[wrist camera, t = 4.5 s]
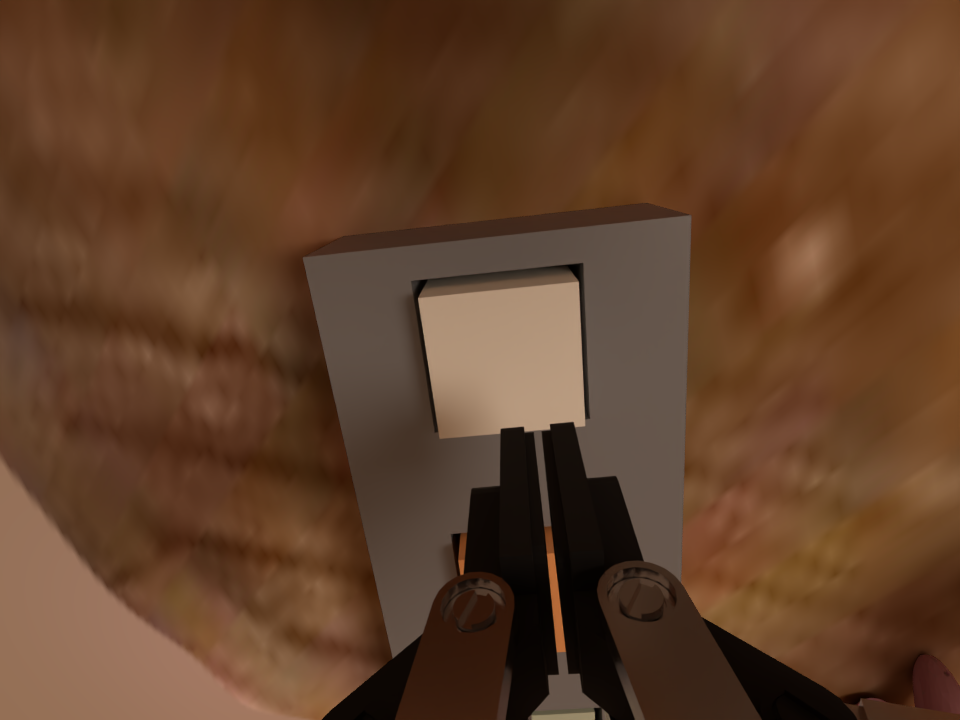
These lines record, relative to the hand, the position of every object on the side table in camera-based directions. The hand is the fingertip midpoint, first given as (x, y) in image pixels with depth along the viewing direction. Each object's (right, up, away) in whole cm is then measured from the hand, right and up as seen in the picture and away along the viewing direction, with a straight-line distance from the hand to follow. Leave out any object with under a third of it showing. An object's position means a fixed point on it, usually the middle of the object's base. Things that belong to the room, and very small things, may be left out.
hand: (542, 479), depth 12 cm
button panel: (0, -4, +11) cm, 12 cm away
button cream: (-1, +4, +6) cm, 7 cm away
